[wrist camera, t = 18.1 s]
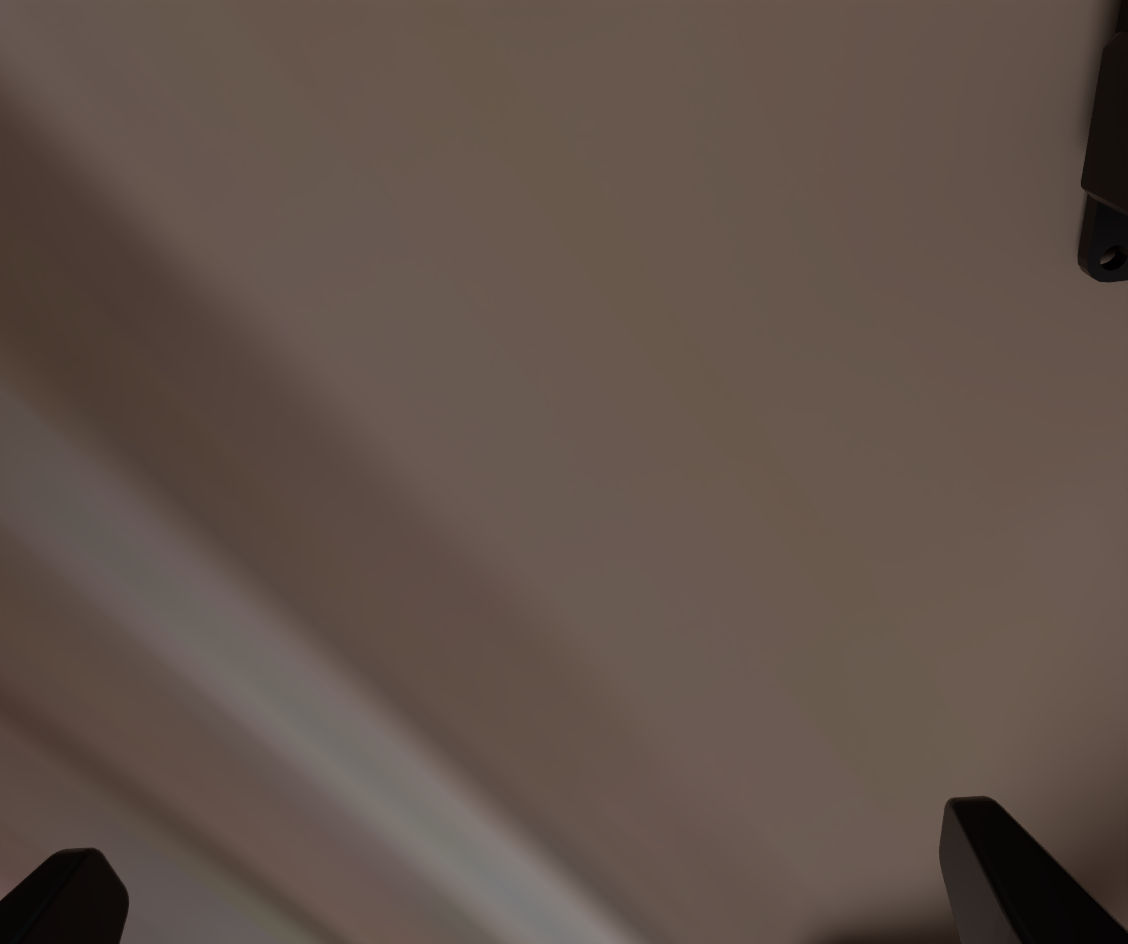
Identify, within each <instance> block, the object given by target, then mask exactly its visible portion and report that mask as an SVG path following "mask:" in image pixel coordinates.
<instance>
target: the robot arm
mask: <svg viewBox="0 0 1128 944" xmlns="http://www.w3.org/2000/svg"><path fill="white" fill-rule="evenodd" d="M1081 187H1082V188H1083V189H1084V190H1085V191H1086V192H1087V193H1088V198H1087V204H1086V209H1085V215H1084V221H1083V227H1082V233H1081V238H1080V244H1079V250H1078V265H1079V266H1080V268H1081V270H1082V271H1083V272H1085V273H1086V274H1087V275H1089V276H1090V277H1092V278H1094V279H1095V280H1097V281H1099V282H1117V281H1125V280H1128V0H1122V1H1121V7H1120V12H1119V18H1118V24H1117V30H1116V34H1115V35H1114V37H1113V38H1112V39H1111V40H1110V41H1109V43H1108V44H1107V45H1106V46H1105V48H1104V49H1103V53H1102V59H1101V65H1100V71H1099V77H1098V83H1097V89H1096V95H1095V101H1094V107H1093V113H1092V119H1091V125H1090V131H1089V137H1088V143H1087V149H1086V155H1085V161H1084V167H1083V173H1082V179H1081ZM1115 245H1117V252H1116V255H1115V257H1114V258H1112V259H1111V260H1110V261H1109V262H1107V263H1104V264H1100V259H1101V256H1102V254H1103V253H1104V252H1105V251H1106V250H1107V249H1108V248H1109V247H1112V246H1115ZM939 858H940V865H941V870H942V874H943V878H944V882H945V885H946V889H947V893H948V897H949V900H950V904H951V908H952V911H953V915H954V919H955V923H956V926H957V930H958V934H959V937H960V941H961V944H1128V931H1127V930H1126V929H1125V928H1124V927H1123V926H1122V925H1121V924H1120V923H1119V922H1118V921H1117V920H1116V919H1115V918H1114V917H1113V916H1112V915H1111V914H1110V913H1109V912H1108V911H1107V910H1106V909H1105V908H1104V907H1103V906H1102V905H1101V904H1100V903H1099V902H1098V901H1097V900H1096V899H1095V898H1094V897H1093V896H1092V895H1091V894H1090V893H1089V892H1088V891H1087V890H1086V889H1085V888H1084V887H1083V886H1082V885H1081V884H1080V883H1079V882H1078V881H1077V880H1076V879H1075V878H1074V877H1073V876H1072V875H1071V874H1070V873H1069V872H1068V871H1067V870H1066V869H1065V868H1064V867H1063V866H1062V865H1060V864H1059V863H1058V862H1057V861H1056V860H1055V859H1054V858H1053V857H1052V856H1051V855H1050V854H1049V853H1048V852H1047V851H1046V850H1045V849H1044V848H1043V847H1042V846H1041V845H1040V844H1039V843H1038V842H1037V841H1036V840H1035V839H1034V838H1033V837H1032V836H1031V835H1030V834H1029V833H1028V832H1027V831H1026V830H1025V829H1024V828H1023V827H1022V826H1021V825H1020V824H1019V823H1018V822H1017V821H1016V820H1015V819H1014V818H1013V817H1012V816H1011V815H1010V814H1009V813H1008V812H1007V811H1006V810H1005V809H1004V808H1003V807H1002V806H1001V805H1000V804H999V803H997V802H996V801H995V800H993V799H991V798H989V797H986V796H973V797H955V798H950V799H949V800H948V801H947V802H946V805H945V809H944V816H943V823H942V830H941V838H940V845H939ZM128 908H129V896H128V892H127V889H126V887H125V886H124V884H123V883H122V881H121V880H120V878H119V877H118V875H117V874H116V872H115V871H114V869H113V868H112V866H111V865H110V863H109V862H108V860H107V859H106V858H105V856H104V855H103V853H102V852H101V851H100V850H98V849H95V848H75V849H65V850H61V851H58V852H56V853H55V854H53V855H52V856H50V857H49V858H48V859H47V860H45V861H44V862H43V863H42V864H41V865H40V866H39V867H38V868H36V869H35V870H34V871H33V872H32V873H31V874H30V875H29V876H27V877H26V878H25V879H24V880H23V881H22V882H21V883H20V884H18V885H17V886H16V887H15V888H14V889H13V890H12V891H11V892H10V893H8V894H7V895H6V896H5V897H4V898H3V899H2V900H1V901H0V944H120V940H121V936H122V933H123V929H124V926H125V922H126V918H127V914H128Z"/></svg>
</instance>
